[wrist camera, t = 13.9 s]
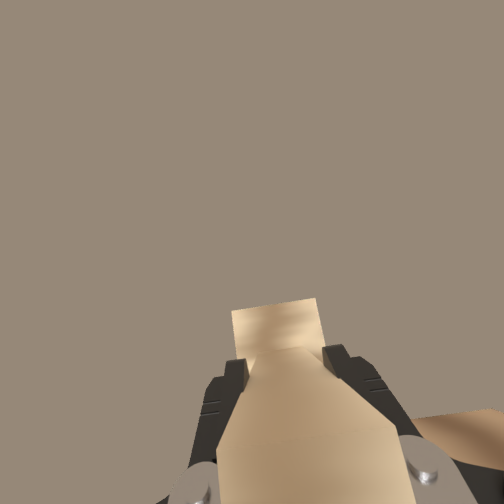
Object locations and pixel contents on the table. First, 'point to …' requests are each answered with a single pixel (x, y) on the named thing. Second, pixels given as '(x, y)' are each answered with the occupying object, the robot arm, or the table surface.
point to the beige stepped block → (303, 422)
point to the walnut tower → (467, 436)
